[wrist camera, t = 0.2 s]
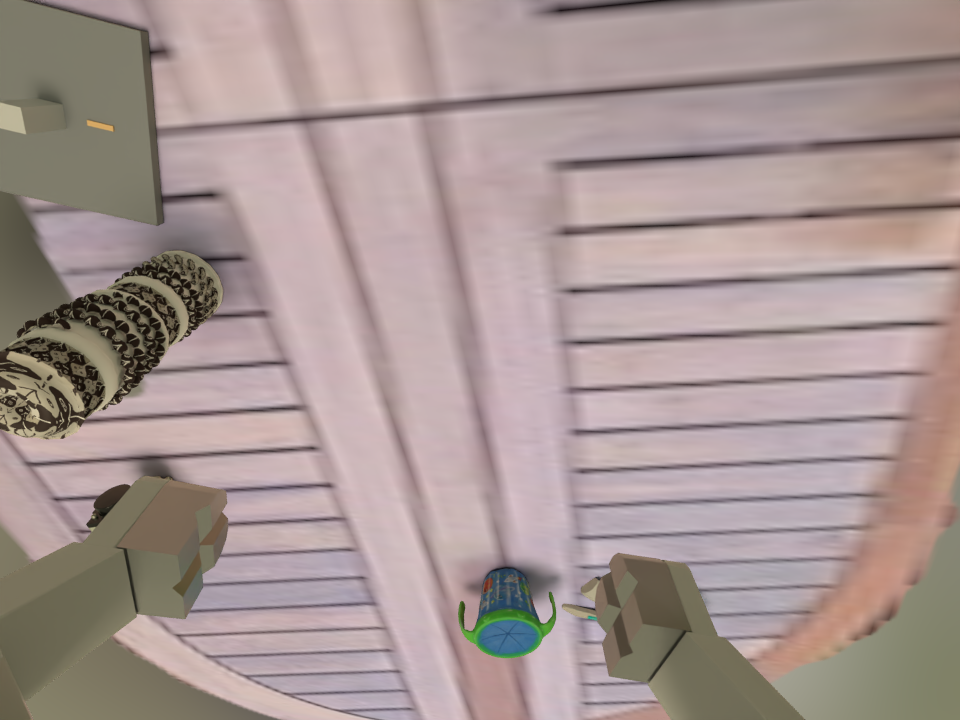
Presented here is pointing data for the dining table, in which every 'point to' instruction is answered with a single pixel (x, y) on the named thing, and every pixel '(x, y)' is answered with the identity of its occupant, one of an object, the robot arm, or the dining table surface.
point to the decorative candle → (102, 345)
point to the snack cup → (507, 617)
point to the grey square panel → (77, 112)
